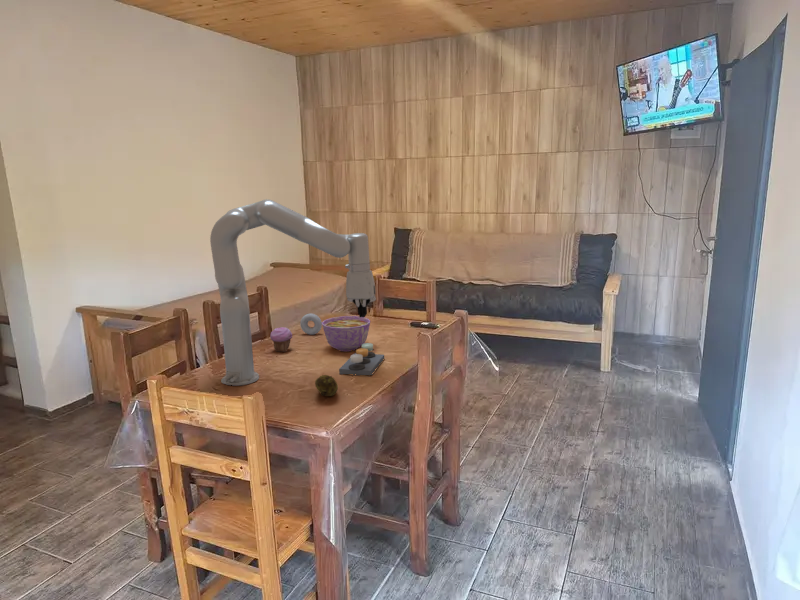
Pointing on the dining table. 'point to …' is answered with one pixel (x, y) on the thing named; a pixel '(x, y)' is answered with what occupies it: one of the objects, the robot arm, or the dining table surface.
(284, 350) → the cupcake
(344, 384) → the dining table surface
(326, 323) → the bowl of food
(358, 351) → the button orange
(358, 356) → the button white
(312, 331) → the donut
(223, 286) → the robot arm
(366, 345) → the button sage
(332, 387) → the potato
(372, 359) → the button panel
